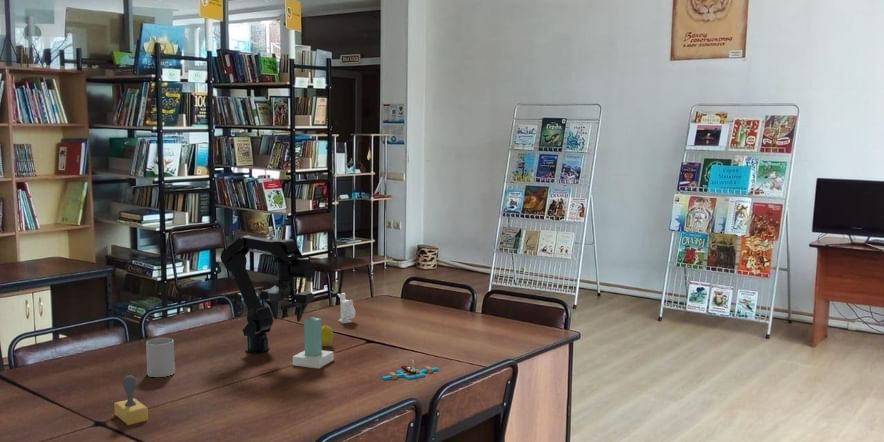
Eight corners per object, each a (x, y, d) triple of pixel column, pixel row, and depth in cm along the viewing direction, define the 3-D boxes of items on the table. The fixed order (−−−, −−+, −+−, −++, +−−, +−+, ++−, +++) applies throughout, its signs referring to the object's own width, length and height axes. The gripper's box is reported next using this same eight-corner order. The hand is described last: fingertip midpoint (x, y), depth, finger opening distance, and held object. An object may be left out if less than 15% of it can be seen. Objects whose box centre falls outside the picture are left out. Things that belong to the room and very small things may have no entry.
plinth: (292, 365, 259) (292, 356, 259) (308, 357, 268) (308, 348, 268) (318, 368, 256) (318, 359, 255) (333, 360, 265) (333, 351, 265)
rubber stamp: (114, 415, 214) (112, 373, 213) (135, 410, 218) (133, 369, 216) (126, 425, 207) (124, 382, 205) (148, 420, 210) (146, 377, 209)
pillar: (304, 354, 261) (304, 319, 260) (312, 351, 264) (312, 317, 263) (313, 356, 259) (313, 321, 258) (321, 353, 262) (321, 318, 261)
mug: (178, 375, 248) (177, 342, 247) (151, 380, 243) (150, 346, 242) (167, 365, 258) (166, 334, 257) (141, 370, 253) (139, 338, 252)
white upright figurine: (332, 321, 317) (332, 293, 316) (345, 319, 322) (345, 291, 321) (345, 325, 311) (345, 296, 310) (358, 322, 316) (358, 294, 315)
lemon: (330, 348, 279) (330, 327, 278) (316, 347, 280) (315, 326, 279) (335, 344, 284) (335, 323, 283) (321, 343, 285) (321, 322, 284)
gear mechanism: (375, 376, 249) (388, 384, 241) (375, 359, 249) (388, 367, 241) (429, 366, 259) (443, 374, 251) (429, 351, 259) (443, 358, 251)
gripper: (249, 278, 262) (250, 323, 263) (297, 282, 255) (298, 328, 257) (268, 272, 272) (269, 315, 274) (314, 276, 265) (315, 320, 267)
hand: (287, 320), depth 268 cm, fingers open, 9 cm apart
